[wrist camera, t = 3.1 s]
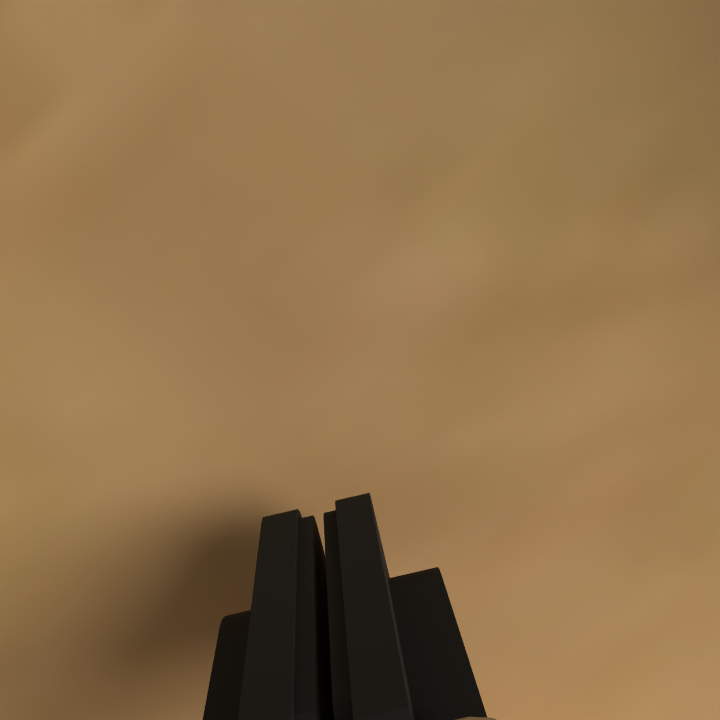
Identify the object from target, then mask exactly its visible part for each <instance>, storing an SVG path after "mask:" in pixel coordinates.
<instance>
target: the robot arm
mask: <svg viewBox="0 0 720 720" xmlns="http://www.w3.org/2000/svg"><path fill="white" fill-rule="evenodd" d="M335 506H336V510H335V511H331V512H326V513H324V535H325V554H324V550H323V546H322V542H321V539H320V535H319V531H318V528H317V524H316V521H315V518H314V516H309V517H304V518H302V517H301V514H300V511H299V510H298V509H297V510H292V511H288V512H284V513H279V514H275V515H271V516H266V517H263V518H262V523H261V532H260V540H259V548H258V556H257V565H256V573H255V581H254V589H253V598H252V606H251V610H249V611H245V612H241V613H236V614H232V615H228V616H225V617H224V618H223V619H222V621H221V625H220V628H219V634H218V639H217V645H216V650H215V656H214V661H213V667H212V672H211V678H210V683H209V689H208V694H207V700H206V705H205V710H204V716H203V720H496V719H493V718H487V715H486V712H485V709H484V706H483V703H482V700H481V697H480V693H479V690H478V687H477V684H476V681H475V678H474V675H473V672H472V669H471V665H470V662H469V659H468V656H467V653H466V650H465V647H464V644H463V641H462V637H461V634H460V631H459V628H458V625H457V622H456V619H455V616H454V613H453V609H452V606H451V603H450V600H449V597H448V594H447V591H446V588H445V585H444V581H443V578H442V575H441V572H440V570H439V568H438V567H436V568H432V569H428V570H423V571H419V572H415V573H410V574H406V575H402V576H397V577H393V578H390V577H389V573H388V569H387V565H386V560H385V556H384V552H383V547H382V543H381V539H380V535H379V530H378V526H377V522H376V518H375V513H374V509H373V505H372V500H371V496H370V493H367V494H362V495H358V496H354V497H349V498H345V499H341V500H336V501H335ZM325 556H326V557H325Z"/></svg>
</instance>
